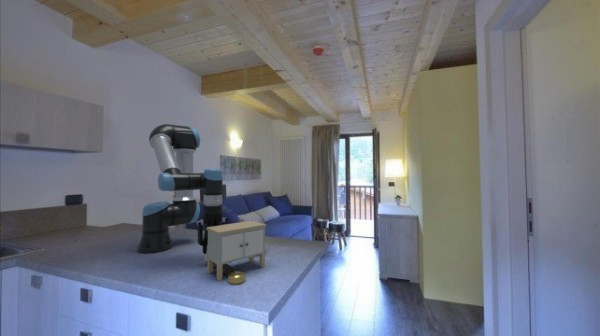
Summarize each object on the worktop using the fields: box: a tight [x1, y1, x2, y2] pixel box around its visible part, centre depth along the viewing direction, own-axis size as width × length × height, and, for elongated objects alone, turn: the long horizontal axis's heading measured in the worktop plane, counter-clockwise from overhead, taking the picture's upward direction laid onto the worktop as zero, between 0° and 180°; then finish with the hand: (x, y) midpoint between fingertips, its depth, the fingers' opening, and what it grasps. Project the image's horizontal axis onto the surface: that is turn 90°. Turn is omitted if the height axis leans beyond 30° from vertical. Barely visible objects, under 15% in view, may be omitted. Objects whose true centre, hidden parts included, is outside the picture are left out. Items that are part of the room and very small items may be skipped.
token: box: [227, 270, 246, 286], centre depth 87 cm, size 6×6×2 cm
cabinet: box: [206, 220, 267, 282], centre depth 98 cm, size 12×21×18 cm, turn 133°
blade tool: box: [205, 244, 236, 277], centre depth 98 cm, size 20×4×12 cm, turn 43°
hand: (212, 259), depth 104 cm, fingers closed on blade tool, 4 cm apart
